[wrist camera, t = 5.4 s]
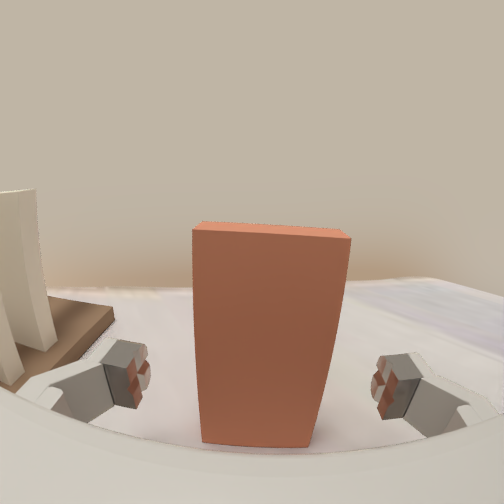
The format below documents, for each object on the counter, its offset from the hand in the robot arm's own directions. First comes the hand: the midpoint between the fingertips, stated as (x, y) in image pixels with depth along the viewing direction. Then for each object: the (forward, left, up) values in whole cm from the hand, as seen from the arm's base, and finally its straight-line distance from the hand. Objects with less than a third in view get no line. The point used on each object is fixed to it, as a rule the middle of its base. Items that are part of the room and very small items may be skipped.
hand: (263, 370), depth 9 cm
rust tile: (0, -2, -6) cm, 6 cm away
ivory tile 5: (+16, -5, -4) cm, 17 cm away
